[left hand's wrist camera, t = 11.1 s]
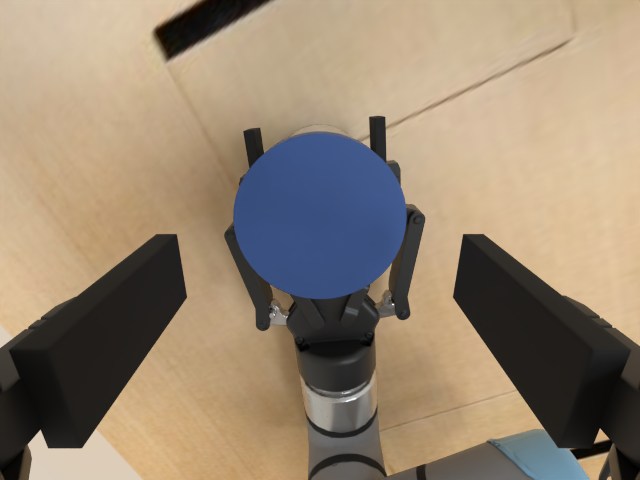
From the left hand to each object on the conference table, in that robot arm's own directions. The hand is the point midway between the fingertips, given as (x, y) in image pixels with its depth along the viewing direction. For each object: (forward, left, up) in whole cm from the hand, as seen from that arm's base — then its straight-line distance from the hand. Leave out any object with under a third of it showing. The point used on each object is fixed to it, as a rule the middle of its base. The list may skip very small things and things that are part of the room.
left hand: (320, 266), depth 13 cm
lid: (0, 0, -5) cm, 5 cm away
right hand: (-4, -1, -15) cm, 15 cm away
